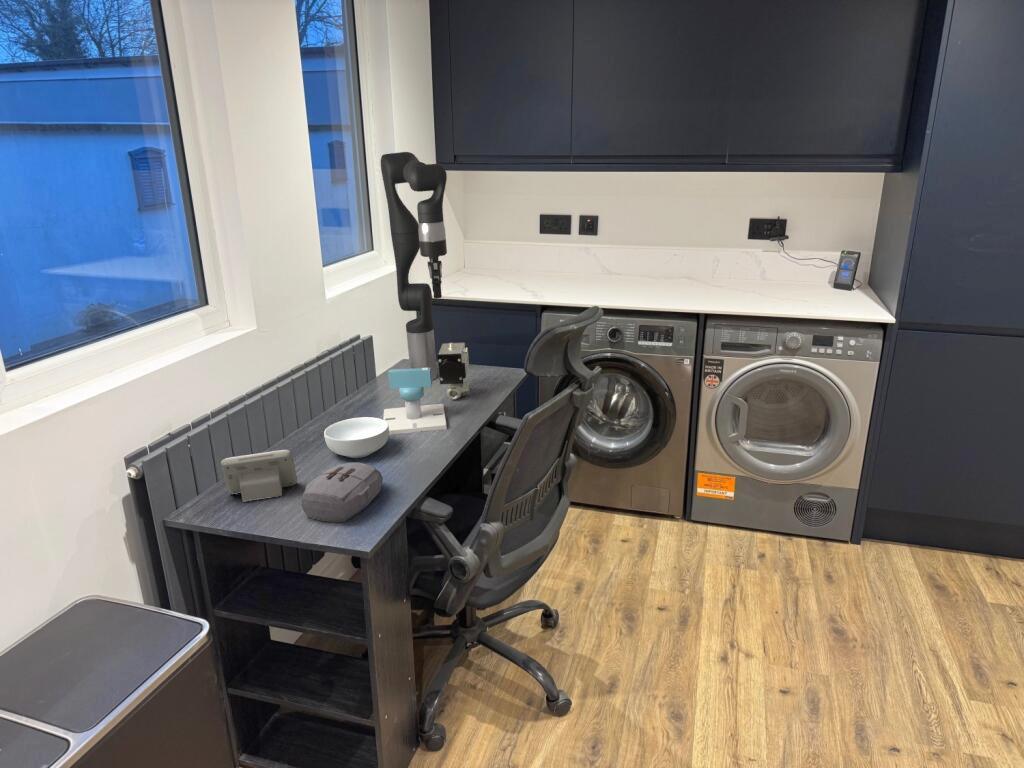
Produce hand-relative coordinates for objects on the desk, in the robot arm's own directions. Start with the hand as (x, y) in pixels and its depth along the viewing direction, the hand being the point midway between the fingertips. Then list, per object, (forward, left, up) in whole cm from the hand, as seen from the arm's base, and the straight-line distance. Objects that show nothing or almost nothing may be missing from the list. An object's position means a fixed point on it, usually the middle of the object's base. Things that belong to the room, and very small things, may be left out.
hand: (437, 294), depth 206 cm
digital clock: (+43, -47, -36) cm, 73 cm away
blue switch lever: (+6, -10, -28) cm, 30 cm away
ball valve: (-12, +4, -36) cm, 38 cm away
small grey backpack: (+53, -26, -36) cm, 69 cm away
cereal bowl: (+25, -25, -36) cm, 50 cm away
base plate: (+6, -10, -36) cm, 38 cm away
